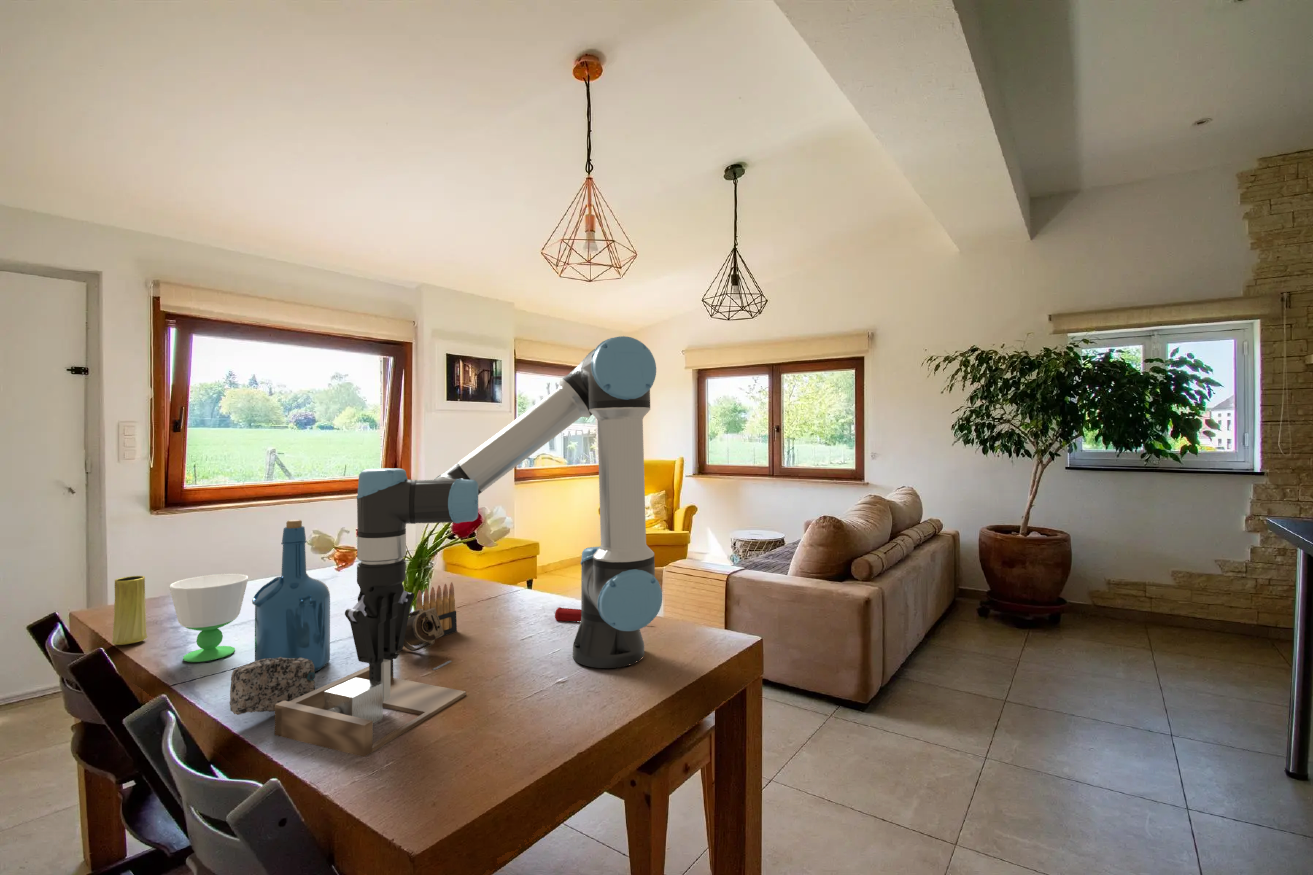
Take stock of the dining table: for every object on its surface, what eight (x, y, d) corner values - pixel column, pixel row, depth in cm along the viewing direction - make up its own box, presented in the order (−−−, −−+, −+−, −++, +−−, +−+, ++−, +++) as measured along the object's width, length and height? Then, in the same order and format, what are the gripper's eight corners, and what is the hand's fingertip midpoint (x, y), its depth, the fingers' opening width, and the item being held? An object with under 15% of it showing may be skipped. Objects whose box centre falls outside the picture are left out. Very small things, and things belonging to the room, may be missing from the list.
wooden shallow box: (466, 697, 107) (466, 669, 107) (364, 759, 86) (364, 725, 86) (387, 681, 114) (387, 655, 114) (274, 736, 93) (274, 704, 93)
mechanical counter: (428, 662, 124) (428, 614, 124) (373, 657, 126) (373, 610, 126) (446, 650, 131) (447, 605, 131) (395, 646, 133) (395, 601, 133)
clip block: (382, 682, 98) (344, 701, 91) (382, 718, 98) (343, 740, 91) (355, 677, 101) (315, 695, 94) (355, 712, 101) (315, 733, 94)
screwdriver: (649, 630, 145) (649, 616, 145) (553, 623, 151) (553, 609, 151) (652, 626, 149) (652, 612, 149) (559, 618, 154) (559, 605, 154)
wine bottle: (320, 651, 130) (320, 514, 130) (339, 668, 120) (340, 520, 120) (245, 668, 120) (245, 520, 120) (259, 688, 110) (260, 527, 111)
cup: (255, 653, 128) (256, 580, 128) (174, 671, 118) (175, 592, 118) (239, 639, 138) (240, 570, 138) (163, 654, 127) (163, 580, 128)
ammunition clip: (418, 644, 135) (418, 591, 135) (413, 642, 136) (413, 590, 136) (457, 631, 144) (457, 581, 144) (452, 630, 145) (452, 580, 145)
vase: (105, 642, 135) (105, 579, 135) (137, 634, 140) (137, 574, 140) (121, 646, 132) (121, 582, 132) (153, 638, 138) (153, 576, 138)
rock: (303, 653, 107) (319, 651, 105) (302, 705, 105) (318, 703, 103) (228, 663, 96) (244, 660, 94) (224, 721, 94) (241, 720, 92)
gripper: (394, 551, 108) (393, 680, 108) (332, 565, 96) (331, 711, 96) (426, 554, 105) (426, 687, 106) (367, 569, 93) (366, 719, 93)
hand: (380, 698), depth 101 cm, fingers closed
